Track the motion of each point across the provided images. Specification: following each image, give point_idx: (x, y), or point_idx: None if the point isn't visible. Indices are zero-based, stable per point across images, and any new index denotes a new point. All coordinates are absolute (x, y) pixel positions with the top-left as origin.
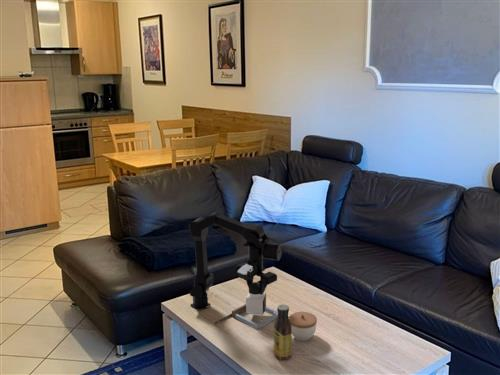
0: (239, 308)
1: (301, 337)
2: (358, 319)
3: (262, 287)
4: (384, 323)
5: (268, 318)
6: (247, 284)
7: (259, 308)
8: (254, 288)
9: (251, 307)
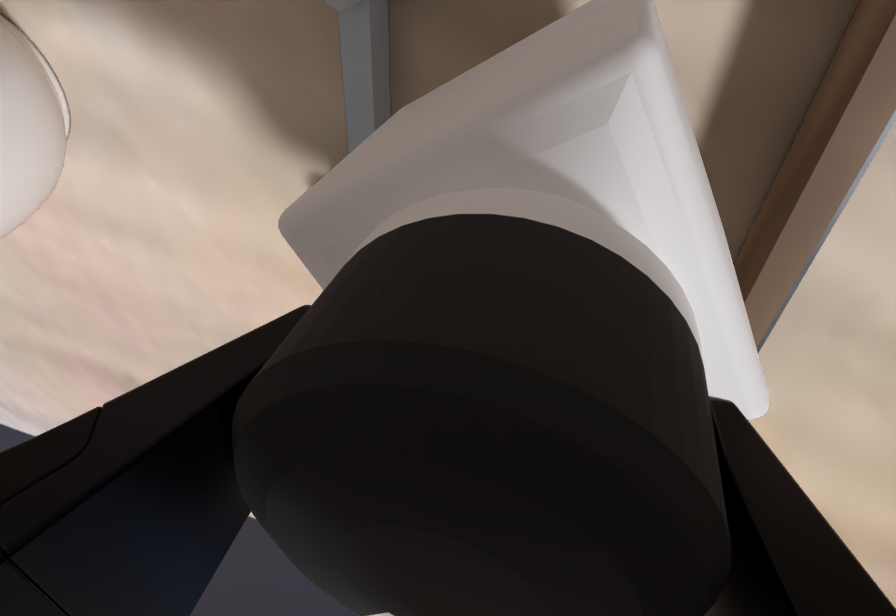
0: (873, 72)
1: None
2: (76, 416)
3: (45, 451)
4: (5, 422)
5: (360, 129)
6: (837, 545)
7: (403, 120)
8: (306, 361)
9: (529, 50)
